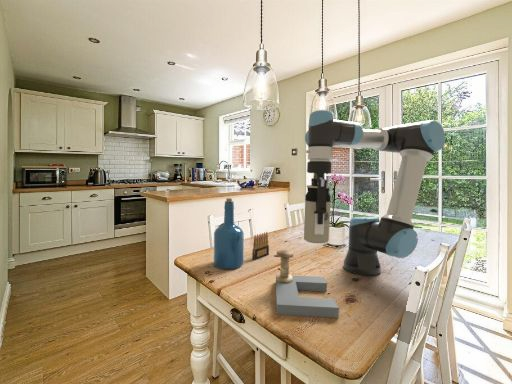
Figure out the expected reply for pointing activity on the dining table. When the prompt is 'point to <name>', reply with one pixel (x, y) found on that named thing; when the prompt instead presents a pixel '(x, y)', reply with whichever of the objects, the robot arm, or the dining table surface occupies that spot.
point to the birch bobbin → (284, 266)
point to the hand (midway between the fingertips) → (316, 230)
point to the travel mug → (310, 216)
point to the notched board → (304, 298)
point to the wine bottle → (228, 241)
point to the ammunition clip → (260, 246)
